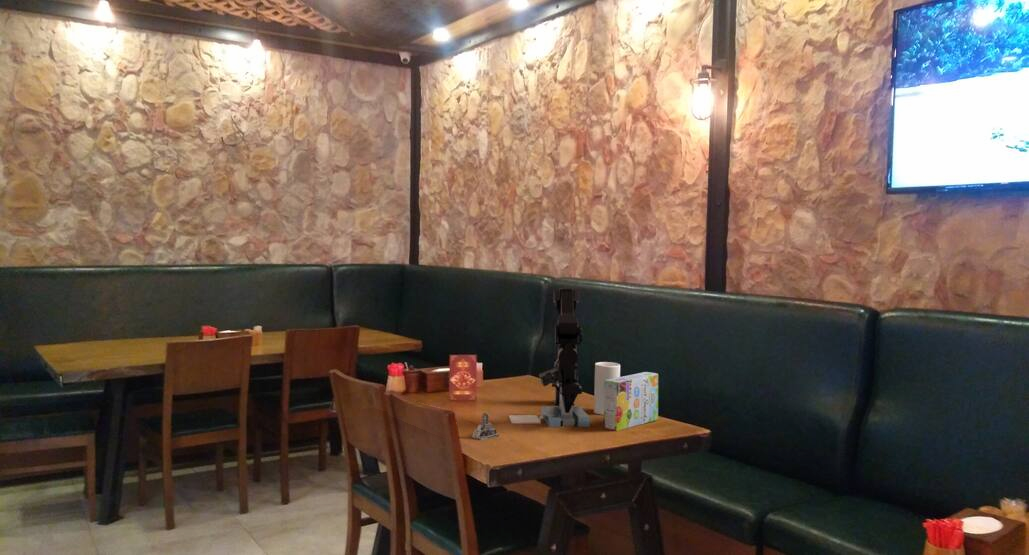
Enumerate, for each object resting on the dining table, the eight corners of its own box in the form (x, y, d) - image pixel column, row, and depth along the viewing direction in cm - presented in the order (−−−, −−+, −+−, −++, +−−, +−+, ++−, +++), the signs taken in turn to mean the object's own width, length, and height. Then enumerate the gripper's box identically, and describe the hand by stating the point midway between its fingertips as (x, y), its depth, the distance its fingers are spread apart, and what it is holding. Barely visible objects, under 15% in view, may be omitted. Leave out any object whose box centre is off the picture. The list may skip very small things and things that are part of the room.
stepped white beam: (559, 421, 248) (559, 392, 247) (570, 421, 248) (570, 392, 248) (563, 426, 241) (563, 397, 241) (574, 426, 242) (574, 397, 241)
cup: (618, 415, 256) (619, 366, 255) (592, 414, 258) (593, 365, 257) (619, 410, 264) (621, 362, 263) (595, 408, 266) (596, 361, 265)
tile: (508, 417, 252) (508, 415, 252) (536, 416, 253) (536, 415, 253) (511, 424, 243) (511, 422, 243) (540, 423, 244) (541, 422, 244)
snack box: (644, 417, 255) (645, 371, 254) (658, 420, 251) (660, 373, 250) (602, 428, 240) (603, 379, 239) (616, 431, 236) (618, 381, 235)
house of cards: (484, 431, 235) (484, 406, 235) (503, 437, 229) (504, 411, 228) (460, 436, 229) (460, 410, 229) (480, 442, 223) (480, 415, 222)
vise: (535, 415, 254) (535, 406, 254) (579, 415, 256) (579, 406, 256) (542, 427, 240) (542, 417, 239) (589, 427, 241) (589, 417, 241)
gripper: (536, 356, 254) (535, 404, 255) (546, 366, 235) (545, 418, 236) (571, 356, 255) (570, 404, 256) (583, 366, 236) (581, 418, 237)
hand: (566, 411), depth 246 cm, fingers closed on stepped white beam, 3 cm apart
